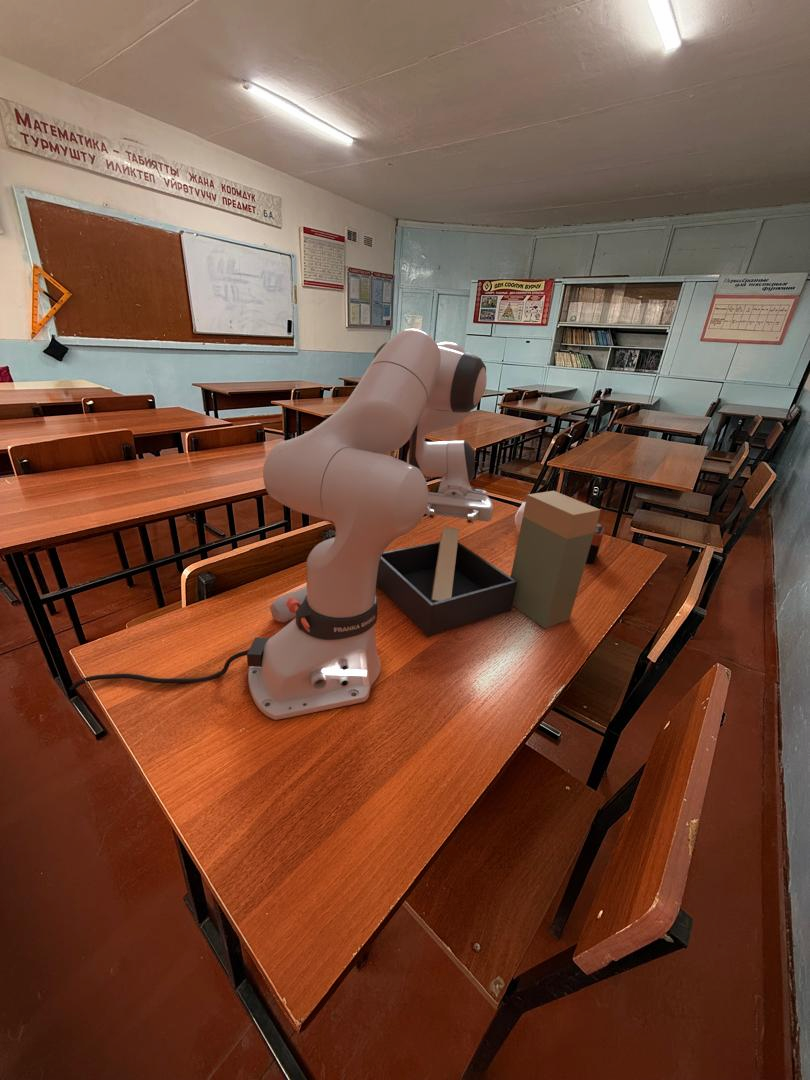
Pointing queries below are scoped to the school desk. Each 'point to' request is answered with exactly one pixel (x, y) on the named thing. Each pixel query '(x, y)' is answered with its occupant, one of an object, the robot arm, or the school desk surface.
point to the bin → (473, 588)
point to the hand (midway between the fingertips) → (450, 517)
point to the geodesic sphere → (519, 517)
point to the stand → (551, 555)
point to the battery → (595, 544)
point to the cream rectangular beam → (445, 565)
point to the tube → (280, 608)
